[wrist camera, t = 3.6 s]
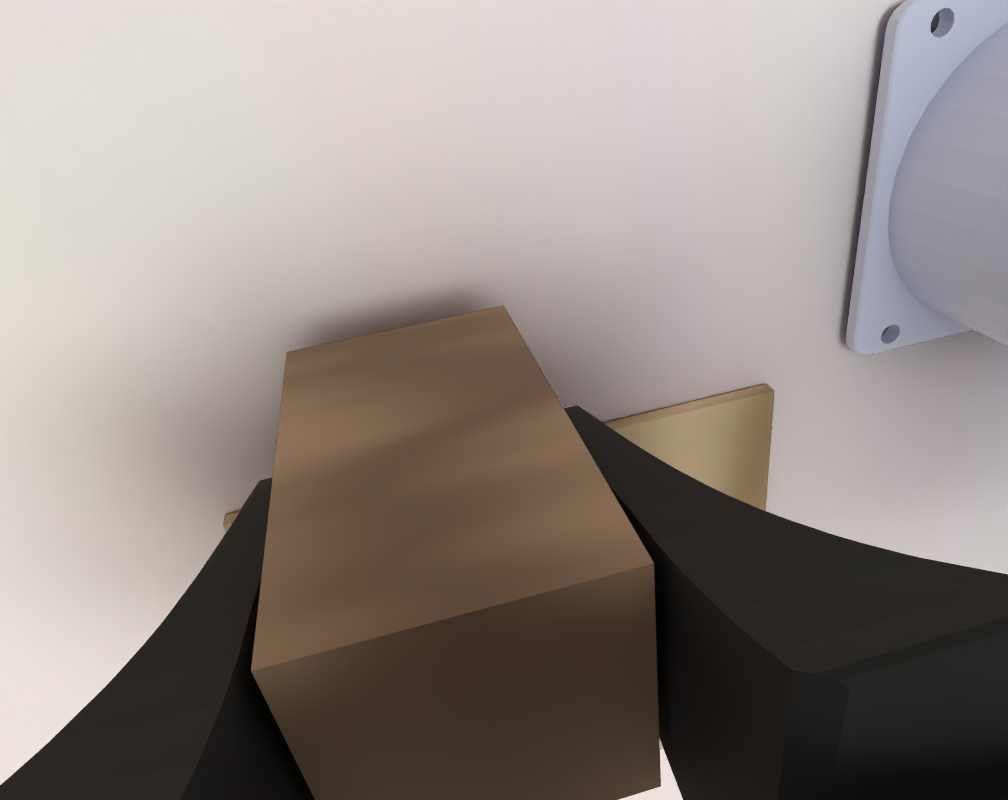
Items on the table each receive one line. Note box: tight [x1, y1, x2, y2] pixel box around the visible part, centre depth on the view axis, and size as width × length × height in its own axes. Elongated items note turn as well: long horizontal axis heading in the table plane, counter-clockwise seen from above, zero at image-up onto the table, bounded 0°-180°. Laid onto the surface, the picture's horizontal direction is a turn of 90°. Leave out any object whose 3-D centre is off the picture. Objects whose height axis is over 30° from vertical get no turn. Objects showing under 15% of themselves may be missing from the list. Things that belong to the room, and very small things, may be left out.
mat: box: [223, 384, 774, 749], centre depth 21 cm, size 14×14×1 cm
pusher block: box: [251, 306, 661, 800], centre depth 11 cm, size 4×4×7 cm
